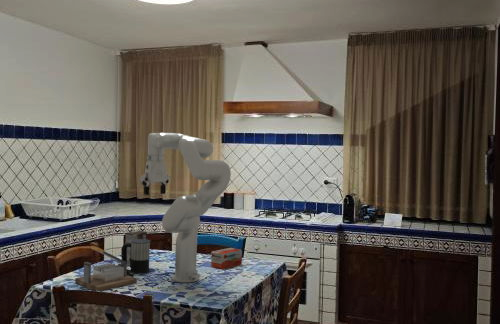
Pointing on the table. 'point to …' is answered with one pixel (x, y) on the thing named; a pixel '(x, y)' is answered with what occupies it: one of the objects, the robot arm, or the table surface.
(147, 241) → the milk frother
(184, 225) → the robot arm
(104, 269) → the heat sink
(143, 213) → the table surface
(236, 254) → the medicine box
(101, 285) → the base board
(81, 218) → the table surface
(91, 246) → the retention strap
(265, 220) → the table surface
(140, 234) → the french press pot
